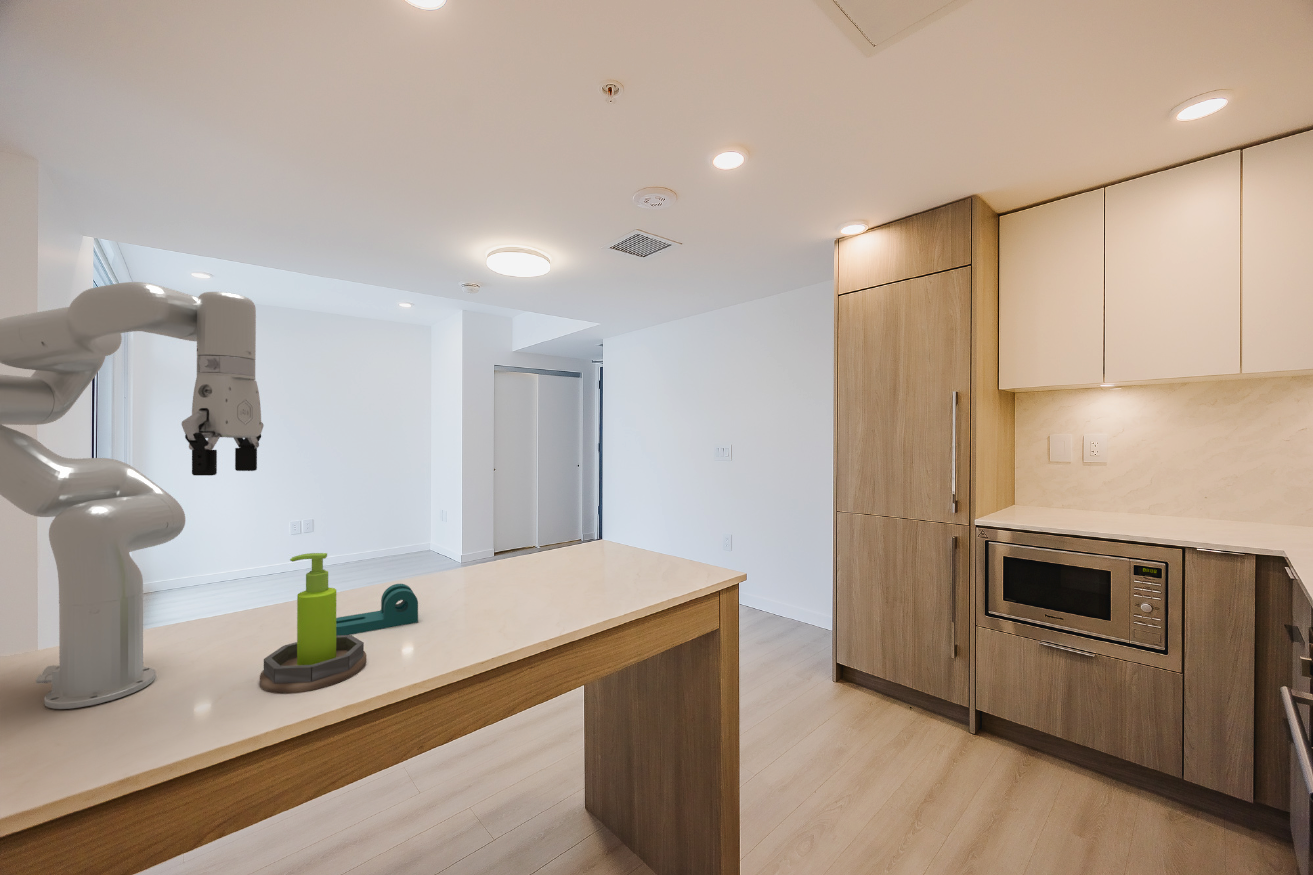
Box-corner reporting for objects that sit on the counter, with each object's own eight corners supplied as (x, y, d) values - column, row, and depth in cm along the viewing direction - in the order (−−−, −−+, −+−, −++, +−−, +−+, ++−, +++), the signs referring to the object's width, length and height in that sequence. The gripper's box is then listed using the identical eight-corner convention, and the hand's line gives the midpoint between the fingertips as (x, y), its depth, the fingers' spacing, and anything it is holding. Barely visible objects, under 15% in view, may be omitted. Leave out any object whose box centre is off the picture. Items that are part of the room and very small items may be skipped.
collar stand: (236, 695, 85) (236, 672, 85) (293, 654, 101) (293, 635, 101) (341, 690, 87) (341, 668, 87) (380, 650, 102) (380, 632, 102)
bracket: (413, 614, 124) (413, 581, 124) (417, 623, 118) (418, 588, 118) (323, 630, 114) (323, 594, 114) (323, 640, 108) (323, 602, 108)
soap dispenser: (294, 661, 95) (294, 552, 94) (338, 655, 97) (338, 549, 97) (286, 675, 89) (286, 559, 89) (333, 668, 92) (333, 555, 92)
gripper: (213, 363, 78) (213, 477, 78) (282, 375, 95) (281, 469, 95) (158, 362, 77) (157, 477, 77) (237, 374, 94) (237, 469, 94)
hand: (226, 472), depth 86 cm, fingers open, 9 cm apart
